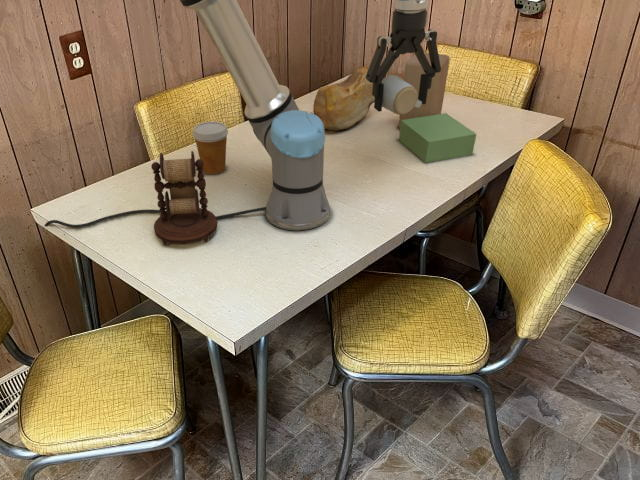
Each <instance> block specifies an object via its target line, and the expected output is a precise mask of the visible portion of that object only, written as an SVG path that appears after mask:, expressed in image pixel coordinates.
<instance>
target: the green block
mask: <svg viewBox="0 0 640 480" xmlns="http://www.w3.org/2000/svg"><path fill="white" fill-rule="evenodd" d="M476 137H477V133H476V132H475V131H473V130H471V129H470V128H468V127H467V126H465V124H463V123H462V122H460V121H458V120H457V119H455V118H454V117H453V116H451V115H449V114H448V113H447V112H444V113H441V114H437V115H431V116H425V117H418V118H412V119H406V120H401V126H400V128H399V135H398V141H399V142H400V143H401V144H402V145H404V146H405V147H406V148H408V149H409V150H410V151H411V152H412V153H413V154H414V155H415V156H417V157H418V158H419V159H420V160H422V162H424V163H425V164H427V163H433V162H438V161H444V160H450V159H455V158H462V157H468V156H473V154H474V147H475V145H476V139H477V138H476Z"/></svg>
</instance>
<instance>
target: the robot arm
mask: <svg viewBox="0 0 640 480" xmlns="http://www.w3.org/2000/svg"><path fill="white" fill-rule="evenodd" d="M179 1H180V3H181V5H182V6H183V7H184V8H185V9H190V10H193V11H194V13H195V15H196V17H197V18H198V20H199V21H200V23H201V25H202V27H203V29H204V31H205V32H206V34H207V36H208V38H209V39H210V41H211V43H212V45H213V47H214V49H215V50H216V52H217V54H218V56H219V57H220V60H221V62H222V63H223V64H224V67H225V68H226V70H227V72H228V74H229V75H230V77H231V79H232V80H233V83H234V84H235V86H236V88H237V90H238V92H239V93H240V95H241V97H242V99H243V101H244V102H245V104H246V105H245V108H244V116H245V117H246V119H247V121H248V122H249V124H250V126H251V128H252V131H253V134H254V136H255V138H256V139H257V140H258V141H259V143H260V144H261V145H262V147H263V148H264V149H265V151H266V153H267V154H268V156H269V157H270V159H271V174H272V175H271V179H272V185H271V189H270V192H269V196H268V198H267V201H266V204H265V206H264V207H262V206H261V207H257V208H252V209H247V210H241V211H238V212H237V211H236V212H232V213H227V214H222V215H215V216H216V218H217V220H221V219H225V218H232V217H237V216H242V215H245V214H251V213H257V212H263V211H265V218H266V220H267V221H268V223H270V224H271V225H273V226H274V227H276V228H278V229H282V230H287V231H295V232H296V231H298V232H299V231H308V230H312V229H315V228H318V227H320V226H323V225H324V224H326V222H327V221H328V220H329V218H330V215H331V214H330V212H331V211H330V210H331V207H330V204H329V200H328V197H327V194H326V190H325V186H324V165H325V164H324V161H325V160H324V159H325V142H326V133H325V129H324V125H323V122H322V121H321V119H320V118H319V117H318V116H316V115H314V112H313V113H312V112H309V113H308V111H306V110H302V109H301V110H300V108H299V107H298V105H297V103H296V101H295V99H294V97H293V95H292V93H291V91H290V89H289V87H288V86H286V85H282V84H279V82H278V80H277V78H276V76H275V74H274V72H273V69H272V67H271V66H270V64H269V62H268V60H267V58H266V56H265V54H264V52H263V50H262V49H261V46H260V44H259V42H258V39H257V38H256V36H255V34H254V32H253V30H252V28H251V26H250V25H249V22H248V20H247V19H246V17H245V14H244V12H243V11H242V8H241V6H240V4H239V3H238V0H179ZM428 7H429V0H393V8H394V10H393V11H392V17H391V32H390V35H389V36H382V35H380V36H379V35H378V37H377V39H376V40H377V41H376V48H375V51H374V52H373V56H372V58H371V61H370V64H369V65H368V66H369V69H368V72H367V74H366V77H365V78H366V80H368V81H369V82H370V83H373V87H372V95H373V96H374V97H375V102H374V103H373V108H374V109H375V110H376V111H377V112H382V109H383V107H382V100H383V89H384V84H383V83H382V80H383V79H384V78H385V77H386V76H387V74H388V72H389V71H390V69H391V67H392V66H393V64H394V63H395V62H396V60H397V59H399V57H400V56H401V55H407V54H414V55H416V57H417V59H418V61H419V63H420V65H421V66H422V68H423V70H424V72H425V74H421V79H420V87H419V95H418V99H419V100H420V101H422V104H426V98H427V91H428V89H430V88H431V82H432V77H434V76H435V73H439V72H440V71H441V66H440V60H439V55H438V54H439V50H438V44H437V40H438V39H437V38H438V32H437V31H435V30H434V29H431V28H429V29H428V30H425V29H426V26H427V18H428V9H427V8H428ZM424 40H426V47H427V51H428V52H427V53H429V57H430V62H431V66H430V64H429V62H428V60H427V58H426V56H425V54H424V53H425V52H424V51H425V50H424V48H423V47H422V45H421V44H422V43H423V41H424ZM389 44H390V45H391V46H390V47H389ZM388 47H389V49H388V50H387V48H388ZM386 51H387V54H386ZM385 54H386V56H385ZM384 56H385V57H384ZM165 212H166V210H165ZM145 213H146V214H147V213H151V214H153V213H154V214H161V211H160V210H159V209H135V210H130V211H124V212H120V213H115V214H110V215H107V216H103V217H101V218H98V219H95V220H92V221H89V222H86V223H80V224H71V223H67V222H65V221H61V220H57V219H50V220H48V221H47V222H46V223H45V224H44V227H48V226H50V225H51V224H57V225H61V226H63V227H66V228H72V229H80V228H85V227H89V226H92V225H95V224H98V223H101V222H103V221H107V220H110V219H116V218H119V217H124V216H128V215H129V216H130V215H134V214H135V215H136V214H145Z"/></svg>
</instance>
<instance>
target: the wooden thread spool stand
mask: <svg viewBox="0 0 640 480" xmlns="http://www.w3.org/2000/svg"><path fill="white" fill-rule="evenodd" d="M203 166H204V162H203V161H202V160H201V159H200V158H198V159H196V157H195V152H194V150H191V152H190V157H189V158H178V159H177V158H176V159H165V158H164V154H163V152H160V154H159V162H158V161H154V162H152V164H151V166H150V168H151V170H152V173H153V174H154V177H153V180H154V183H153V184H154V185H153V186H154V190H155V192H156V193H157V197H156V198H157V200H158V201H157V207H158V208H159V209H158V210H160V211H161V213H159V217H158V218H156V220H155V222H154V224H153V231H154V235H155V237H156V238H157V239H159V240H160V241H161V242H162V244H163V245H164V246H166V245H167V244H171V245H177V246H178V245H179V246H180V245H181V246H182V245H191V244H197V243H200V242H202V241H204V243H208V241H209V238H210V237H212V235H213V234H215V232H216V231H217V229H218V219H217V218H216V216H217V215H215V213H213V212H212V211H210V210H208V207H209V206H208V203H209V200H208V198H207V193H206V187H207V182H206V181H207V180H206V178H205V173H204V172H203V170H204V168H202V167H203ZM196 171H197V172H196ZM196 174H197V175H196ZM196 176H197V180H196V181H195V177H196ZM162 179H163V180H164V181H165V183H164V182H163V181H162ZM196 187H197V188H198V189H197V188H196ZM165 189H166V191H165V193H164V194H163V192H164V190H165ZM168 190H169V191H168ZM198 190H199V192H198ZM199 197H200V198H199ZM165 211H166V212H165Z"/></svg>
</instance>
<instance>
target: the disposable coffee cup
mask: <svg viewBox="0 0 640 480" xmlns="http://www.w3.org/2000/svg"><path fill="white" fill-rule="evenodd" d="M228 135H229V129H228V127H227V126H226V124H225V123H223V122H220V121H205V122H201V123H198V124H196V125H195V126H194V127H193V131H192V137H193V139H194V140H195V144H196V148H197V149H196V150H197V152H198V153H197V154H198V157H199V159H201V160H202V161H203V162H204V166H203V167H202V168H204V170H203V174H206V175H218V174H221V173H223V172H224V171H226V158H227V157H226V156H227V142H228V141H227V140H228V138H227V137H228Z"/></svg>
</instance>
